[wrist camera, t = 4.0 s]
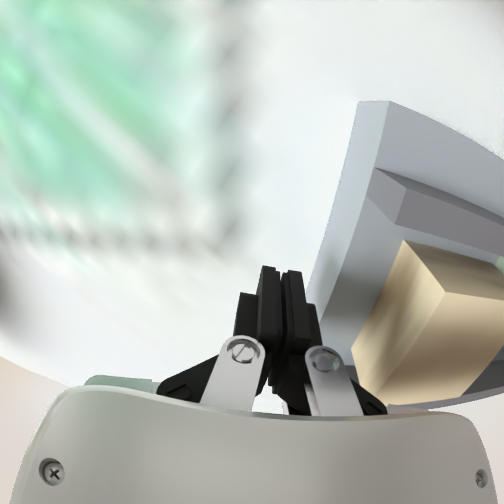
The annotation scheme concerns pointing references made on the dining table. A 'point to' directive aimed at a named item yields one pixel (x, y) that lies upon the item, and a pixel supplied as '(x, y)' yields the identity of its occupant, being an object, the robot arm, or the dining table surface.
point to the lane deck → (404, 221)
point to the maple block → (430, 326)
